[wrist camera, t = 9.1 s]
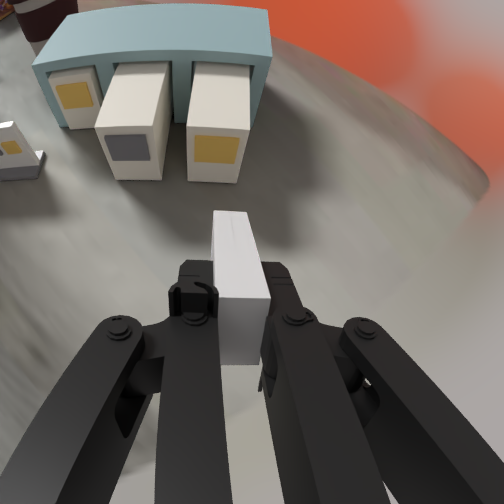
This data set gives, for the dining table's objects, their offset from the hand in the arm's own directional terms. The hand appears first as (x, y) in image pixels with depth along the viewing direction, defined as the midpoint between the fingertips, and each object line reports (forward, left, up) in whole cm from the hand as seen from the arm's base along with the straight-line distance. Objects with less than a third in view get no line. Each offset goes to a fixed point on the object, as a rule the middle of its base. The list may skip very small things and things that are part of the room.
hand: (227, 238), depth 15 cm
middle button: (-7, +14, -11) cm, 19 cm away
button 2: (-1, +14, -11) cm, 18 cm away
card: (-23, +11, -11) cm, 28 cm away
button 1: (-14, +21, -11) cm, 27 cm away
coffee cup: (-25, +33, -11) cm, 43 cm away
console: (-7, +21, -11) cm, 25 cm away
